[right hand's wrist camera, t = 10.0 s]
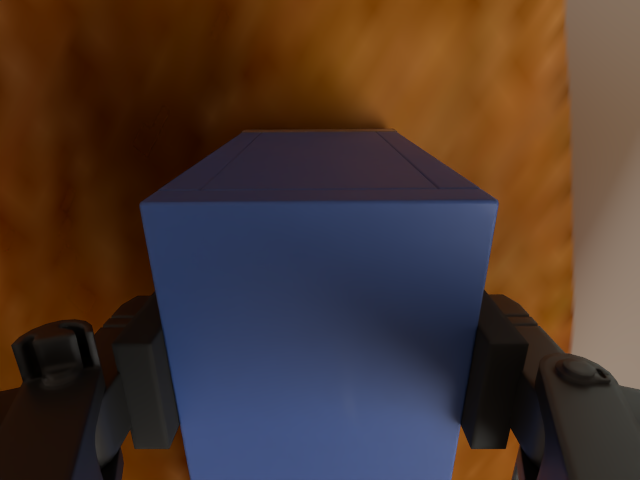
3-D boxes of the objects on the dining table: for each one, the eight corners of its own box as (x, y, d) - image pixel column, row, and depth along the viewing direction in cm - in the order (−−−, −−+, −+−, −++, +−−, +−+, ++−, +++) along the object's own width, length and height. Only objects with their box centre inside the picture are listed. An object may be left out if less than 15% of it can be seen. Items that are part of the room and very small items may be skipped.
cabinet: (375, 421, 24) (417, 681, 14) (266, 421, 24) (226, 682, 14) (393, 128, 17) (501, 199, 7) (244, 129, 17) (136, 201, 7)
